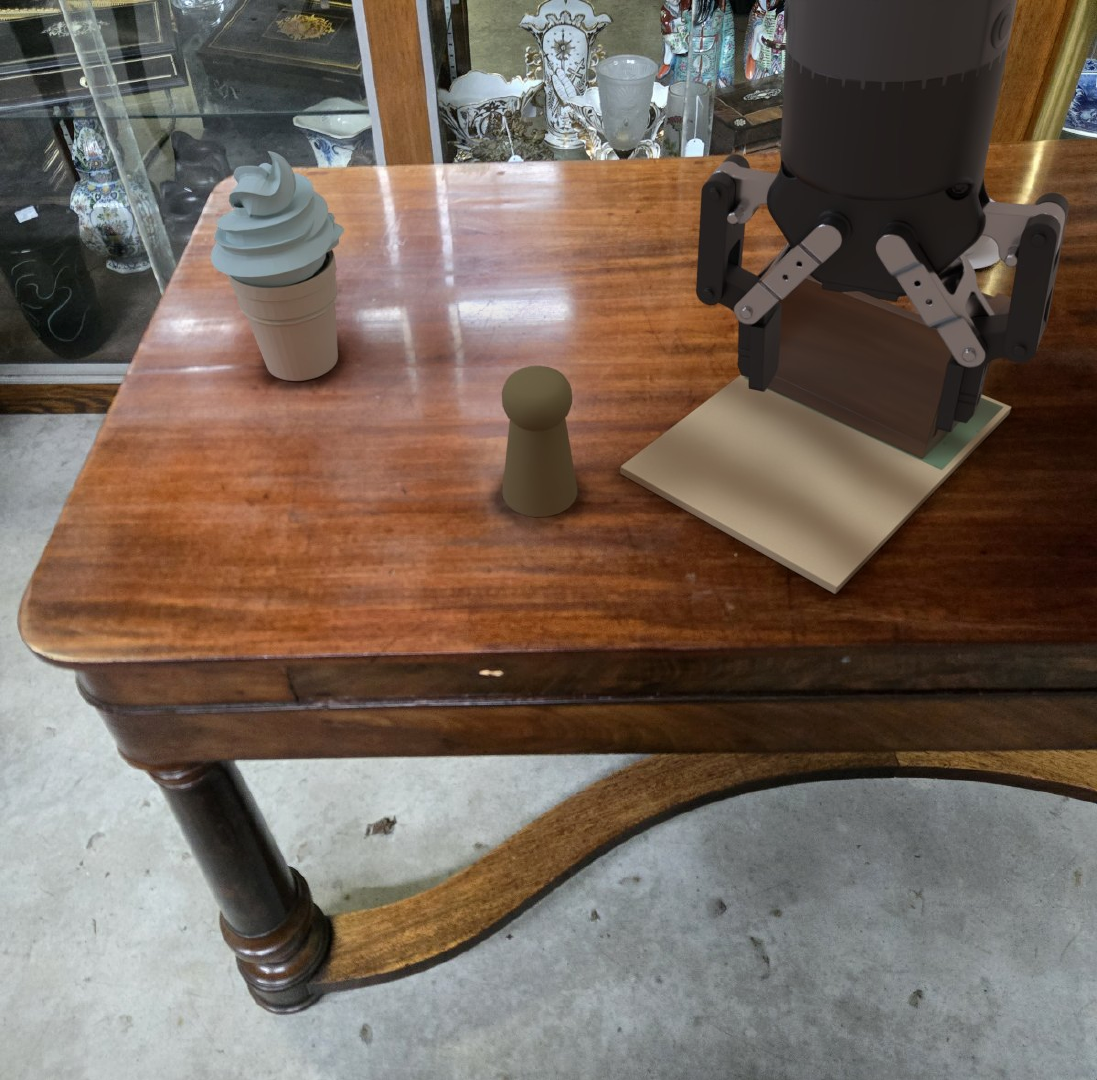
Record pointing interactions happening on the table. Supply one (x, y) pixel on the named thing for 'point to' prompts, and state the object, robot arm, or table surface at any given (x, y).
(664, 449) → the board
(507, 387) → the olive pawn
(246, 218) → the ice cream cone
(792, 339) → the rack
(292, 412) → the table surface
